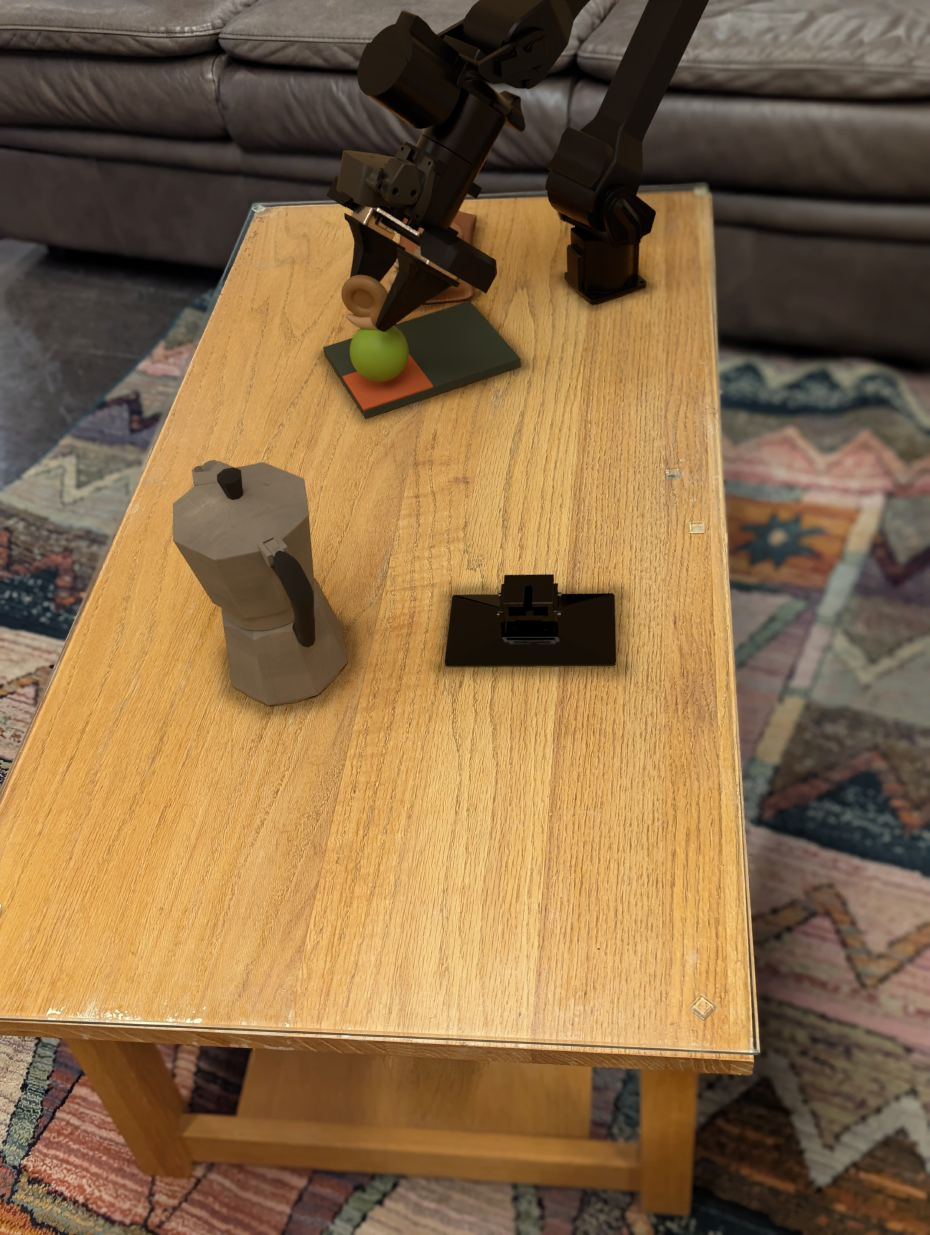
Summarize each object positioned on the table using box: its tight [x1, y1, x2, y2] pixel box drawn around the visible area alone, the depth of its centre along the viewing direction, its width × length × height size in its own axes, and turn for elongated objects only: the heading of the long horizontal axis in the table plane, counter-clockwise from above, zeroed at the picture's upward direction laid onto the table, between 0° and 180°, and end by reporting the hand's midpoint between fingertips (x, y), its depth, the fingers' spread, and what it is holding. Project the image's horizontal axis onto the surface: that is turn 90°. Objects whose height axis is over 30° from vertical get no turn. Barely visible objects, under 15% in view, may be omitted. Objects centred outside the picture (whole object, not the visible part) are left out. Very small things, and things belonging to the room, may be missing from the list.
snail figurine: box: [340, 258, 409, 382], centre depth 97 cm, size 5×6×12 cm
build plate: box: [444, 573, 617, 668], centre depth 79 cm, size 12×7×5 cm, turn 86°
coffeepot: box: [172, 459, 348, 706], centre depth 73 cm, size 15×9×18 cm, turn 33°
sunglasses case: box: [395, 210, 477, 306], centre depth 117 cm, size 18×7×7 cm
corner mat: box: [322, 300, 522, 420], centre depth 105 cm, size 16×12×1 cm
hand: (364, 319), depth 96 cm, fingers closed on snail figurine, 4 cm apart
